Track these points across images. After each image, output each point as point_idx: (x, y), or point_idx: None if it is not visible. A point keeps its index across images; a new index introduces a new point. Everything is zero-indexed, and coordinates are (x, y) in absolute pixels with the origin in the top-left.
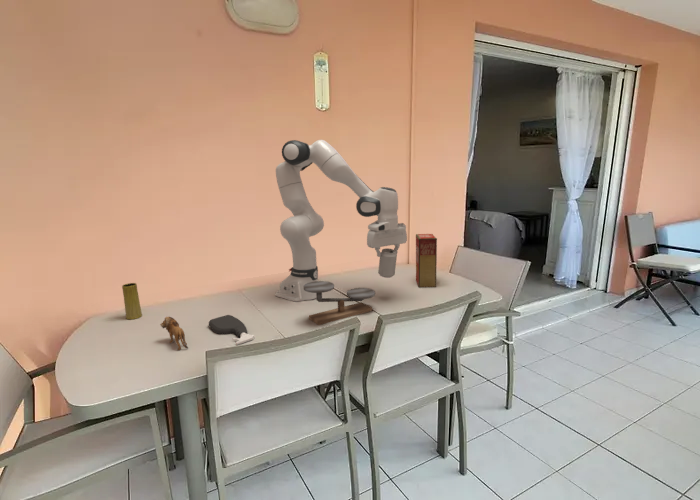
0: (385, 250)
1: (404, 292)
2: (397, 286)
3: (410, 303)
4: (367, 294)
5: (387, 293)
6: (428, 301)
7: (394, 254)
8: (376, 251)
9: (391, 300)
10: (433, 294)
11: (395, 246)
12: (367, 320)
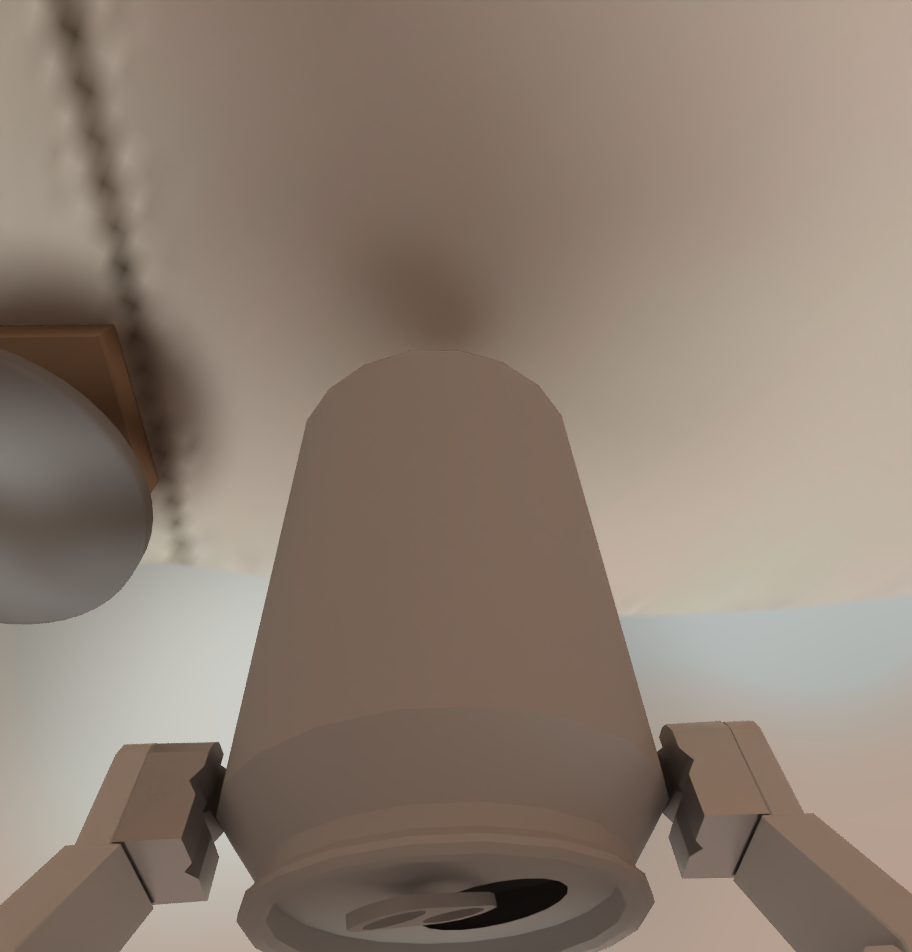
0: (349, 927)
1: (729, 271)
2: (882, 4)
3: None
4: (24, 591)
5: (565, 175)
6: (671, 563)
7: (493, 921)
8: (30, 890)
9: None
10: (854, 476)
11: (869, 924)
12: None
